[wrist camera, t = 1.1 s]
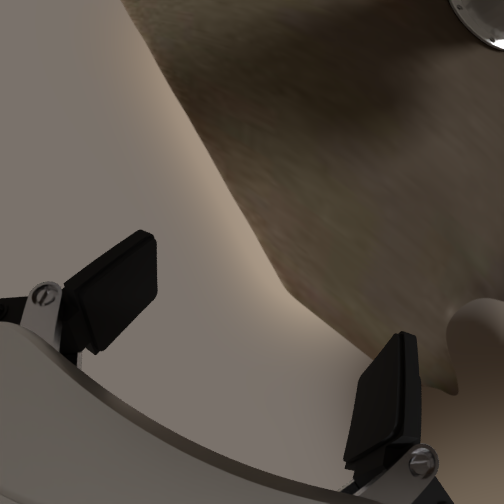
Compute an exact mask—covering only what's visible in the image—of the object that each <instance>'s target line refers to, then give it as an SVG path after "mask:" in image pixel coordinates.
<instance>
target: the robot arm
mask: <svg viewBox="0 0 504 504" xmlns="http://www.w3.org/2000/svg"><path fill="white" fill-rule="evenodd" d="M449 2H450V5H451V7H452V8H453V10H454V12H455V14H456V15H457V16H458V18H459V19H460V21H461V22H462V23H463V24H464V25H465V26H466V28H468V29H469V30H470V31H471V32H472V33H473V34H474V35H475V36H476V37H477V38H479V39H480V40H481V41H483V42H484V43H486V44H487V45H489V46H491V47H493V48H496V49H499V50H503V51H504V0H449ZM64 286H65V287H64V288H63V289H61V287H60V286H59V285H58V284H57V283H55V282H43V283H40V284H38V285H37V286H35V287H34V288H33V289H32V290H31V291H30V293H29V296H28V297H15V298H1V299H0V504H454V503H453V501H452V500H451V498H450V497H449V495H448V494H447V493H446V491H445V490H444V488H443V487H442V485H441V484H440V482H439V481H438V479H437V478H436V477H435V475H436V473H437V471H438V467H439V460H438V455H437V453H436V452H435V450H434V449H433V448H432V447H431V446H429V445H427V444H420V437H421V379H420V376H419V364H418V350H417V339H416V336H415V335H412V334H409V333H406V332H403V331H401V332H400V333H399V334H397V333H395V334H394V335H393V336H392V338H391V339H390V340H389V342H388V343H387V344H386V345H385V347H384V348H383V349H382V351H381V352H380V353H379V354H378V356H377V357H376V358H375V359H374V361H373V362H372V363H371V364H370V366H369V367H368V368H367V369H366V370H365V371H364V373H363V374H362V375H361V377H360V379H359V381H358V386H357V393H356V399H355V404H354V410H353V415H352V421H351V426H350V431H349V435H348V440H347V444H346V448H345V453H344V458H343V459H344V461H345V462H346V465H345V469H348V470H353V471H354V476H353V480H351V481H350V482H349V483H347V484H346V485H345V486H343V487H342V488H340V489H339V490H338V491H333V490H328V489H324V488H320V487H316V486H311V485H308V484H304V483H301V482H297V481H294V480H290V479H287V478H283V477H280V476H276V475H273V474H271V473H268V472H265V471H262V470H259V469H256V468H253V467H251V466H248V465H245V464H242V463H240V462H238V461H235V460H232V459H230V458H228V457H225V456H223V455H220V454H218V453H216V452H214V451H212V450H210V449H207V448H205V447H203V446H201V445H199V444H197V443H195V442H193V441H191V440H188V439H187V438H185V437H183V436H181V435H179V434H177V433H175V432H173V431H172V430H170V429H168V428H166V427H164V426H162V425H161V424H159V423H157V422H156V421H154V420H152V419H150V418H149V417H147V416H145V415H144V414H142V413H141V412H139V411H137V410H136V409H134V408H133V407H131V406H130V405H128V404H127V403H125V402H124V401H122V400H121V399H119V398H118V397H116V396H115V395H113V394H112V393H110V392H109V391H107V390H106V389H105V388H103V387H102V386H101V385H99V384H98V383H97V382H95V381H94V380H93V379H91V378H90V377H89V376H88V375H86V374H85V373H84V372H83V371H81V364H82V351H83V349H84V348H85V347H86V348H87V349H88V350H89V351H90V352H92V353H93V354H94V355H97V353H98V352H99V351H104V350H105V349H106V348H107V347H108V346H109V345H110V344H111V343H112V342H113V341H114V340H115V338H117V337H118V336H119V335H120V333H121V332H122V331H123V330H124V329H125V328H126V327H127V326H128V325H129V324H130V323H131V322H132V321H133V320H134V319H135V318H136V317H137V316H138V315H139V314H140V313H141V312H142V311H143V310H144V309H145V308H146V307H147V306H148V305H149V304H150V303H151V301H153V300H154V299H155V297H156V295H157V291H158V290H157V242H156V240H155V239H154V236H153V235H152V234H150V233H148V232H146V231H143V230H138V231H136V232H135V233H133V234H132V235H130V236H129V237H128V238H126V239H125V240H123V241H121V242H120V243H118V244H117V245H116V246H114V247H113V248H111V249H110V250H109V251H107V252H106V253H104V254H103V255H101V256H100V257H99V258H97V259H96V260H94V261H93V262H92V263H90V264H89V265H87V266H86V267H85V268H83V269H82V270H81V271H80V272H78V273H77V274H75V275H74V276H73V277H72V278H70V279H69V280H67V281H66V282H65V283H64Z"/></svg>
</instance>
